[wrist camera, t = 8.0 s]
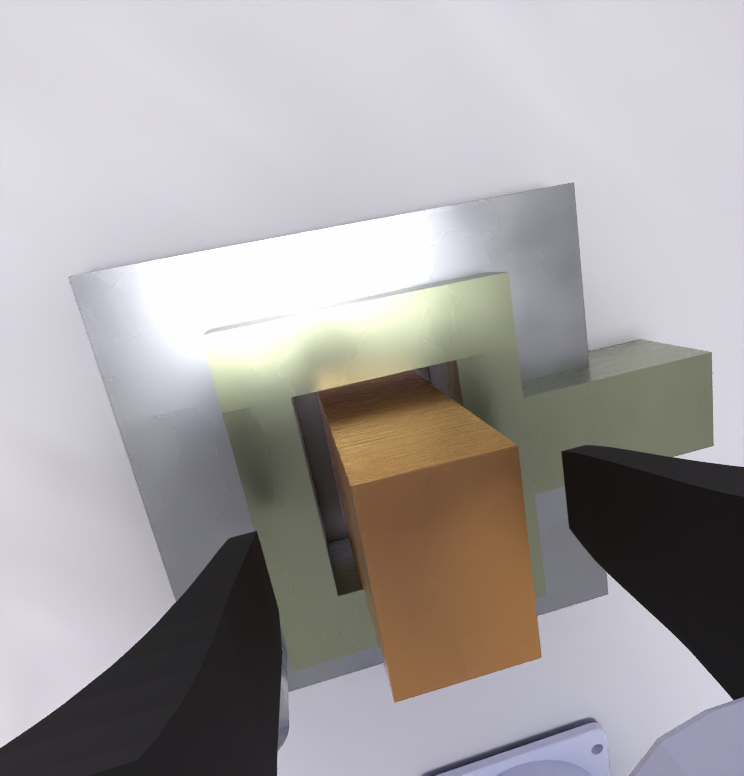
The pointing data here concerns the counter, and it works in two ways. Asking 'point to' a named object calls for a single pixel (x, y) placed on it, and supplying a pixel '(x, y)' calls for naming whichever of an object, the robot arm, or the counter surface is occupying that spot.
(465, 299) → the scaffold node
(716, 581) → the robot arm
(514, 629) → the wooden rectangular peg
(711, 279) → the counter surface
